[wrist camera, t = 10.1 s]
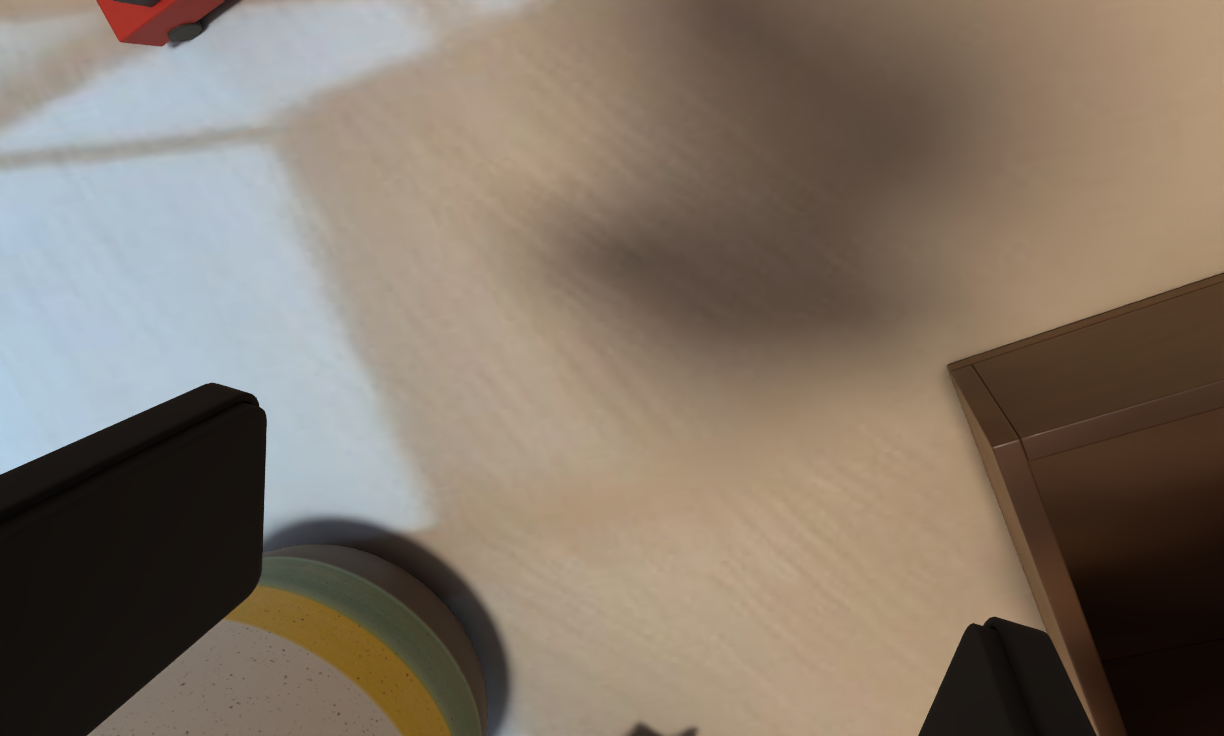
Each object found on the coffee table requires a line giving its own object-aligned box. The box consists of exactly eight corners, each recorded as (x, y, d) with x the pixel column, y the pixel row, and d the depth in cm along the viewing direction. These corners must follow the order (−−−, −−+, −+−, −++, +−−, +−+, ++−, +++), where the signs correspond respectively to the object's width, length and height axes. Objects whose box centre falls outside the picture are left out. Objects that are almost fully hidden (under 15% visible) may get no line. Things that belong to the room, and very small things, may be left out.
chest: (946, 364, 29) (991, 447, 22) (1302, 246, 25) (1500, 298, 18) (1061, 671, 32) (1135, 832, 25) (1399, 607, 28) (1603, 778, 21)
